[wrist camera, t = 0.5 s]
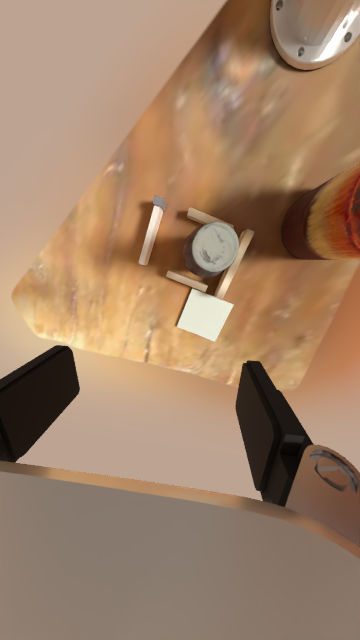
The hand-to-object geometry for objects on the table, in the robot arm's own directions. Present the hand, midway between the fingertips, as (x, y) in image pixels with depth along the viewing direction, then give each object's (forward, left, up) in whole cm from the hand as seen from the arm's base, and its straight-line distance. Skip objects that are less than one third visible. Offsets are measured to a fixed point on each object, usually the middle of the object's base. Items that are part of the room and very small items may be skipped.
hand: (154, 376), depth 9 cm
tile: (+4, +5, -28) cm, 29 cm away
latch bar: (-7, -10, -28) cm, 30 cm away
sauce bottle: (-7, 0, -28) cm, 29 cm away
